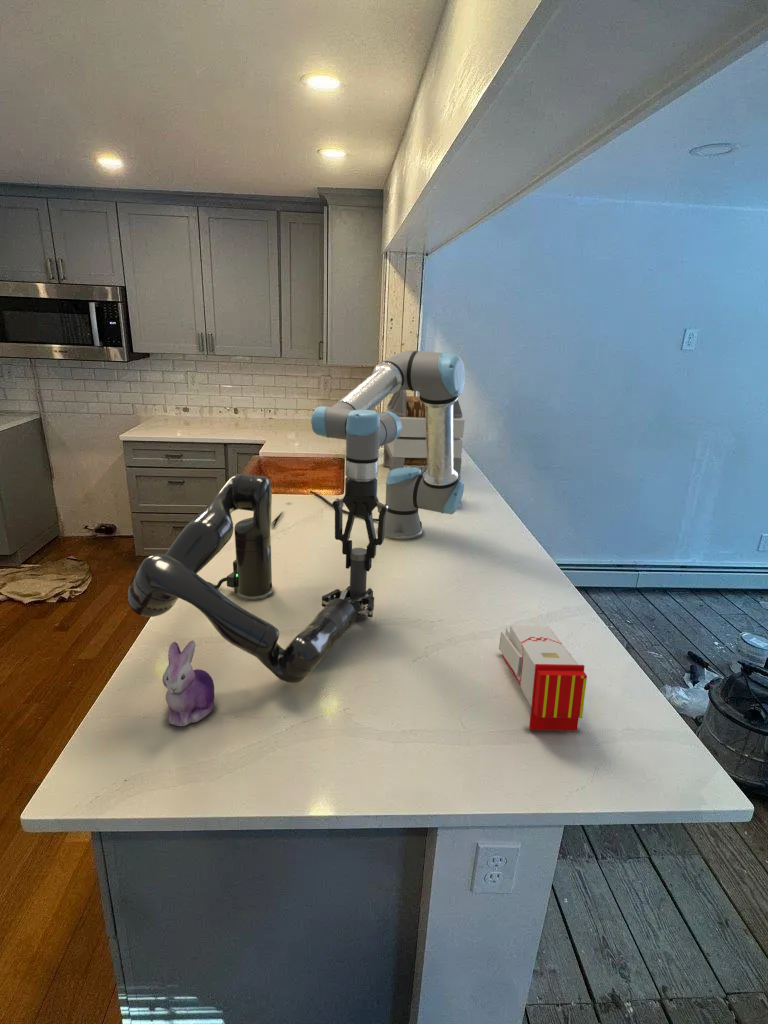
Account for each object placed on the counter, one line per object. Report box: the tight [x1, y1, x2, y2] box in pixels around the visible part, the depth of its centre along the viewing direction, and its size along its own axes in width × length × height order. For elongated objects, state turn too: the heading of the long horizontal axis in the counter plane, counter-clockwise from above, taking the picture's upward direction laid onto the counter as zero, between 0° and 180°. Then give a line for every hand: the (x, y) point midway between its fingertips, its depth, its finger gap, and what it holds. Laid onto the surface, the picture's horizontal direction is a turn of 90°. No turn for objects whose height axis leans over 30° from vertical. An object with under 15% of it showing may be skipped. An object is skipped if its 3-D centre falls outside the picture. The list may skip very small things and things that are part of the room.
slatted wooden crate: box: [383, 390, 465, 480], centre depth 268 cm, size 34×33×41 cm
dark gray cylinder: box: [349, 560, 368, 622], centre depth 142 cm, size 4×4×18 cm
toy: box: [498, 624, 588, 732], centre depth 119 cm, size 12×13×30 cm
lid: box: [350, 547, 367, 561], centre depth 139 cm, size 5×5×2 cm
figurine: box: [161, 640, 215, 727], centre depth 107 cm, size 9×10×15 cm
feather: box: [271, 512, 283, 529], centre depth 212 cm, size 2×28×2 cm
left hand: (362, 589), depth 146 cm, fingers closed on dark gray cylinder, 4 cm apart
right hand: (358, 567), depth 141 cm, fingers closed on lid, 4 cm apart
